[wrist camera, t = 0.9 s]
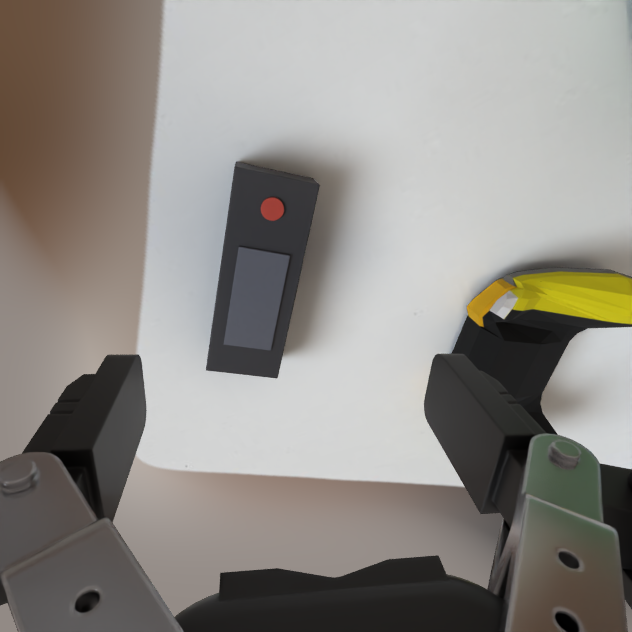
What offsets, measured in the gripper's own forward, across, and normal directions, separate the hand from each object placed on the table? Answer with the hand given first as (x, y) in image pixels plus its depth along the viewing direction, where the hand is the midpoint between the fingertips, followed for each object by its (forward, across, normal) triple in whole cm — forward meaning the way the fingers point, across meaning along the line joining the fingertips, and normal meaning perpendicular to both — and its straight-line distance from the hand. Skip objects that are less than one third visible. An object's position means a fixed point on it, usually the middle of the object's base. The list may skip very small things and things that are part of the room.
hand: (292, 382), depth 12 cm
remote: (+15, +1, +2) cm, 16 cm away
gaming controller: (+16, -18, +8) cm, 25 cm away
